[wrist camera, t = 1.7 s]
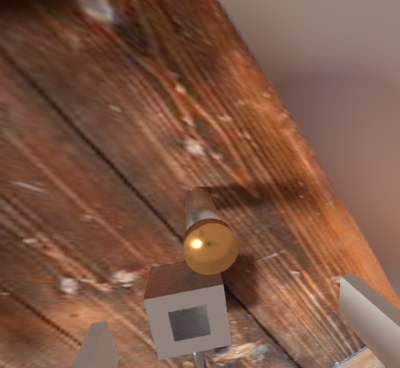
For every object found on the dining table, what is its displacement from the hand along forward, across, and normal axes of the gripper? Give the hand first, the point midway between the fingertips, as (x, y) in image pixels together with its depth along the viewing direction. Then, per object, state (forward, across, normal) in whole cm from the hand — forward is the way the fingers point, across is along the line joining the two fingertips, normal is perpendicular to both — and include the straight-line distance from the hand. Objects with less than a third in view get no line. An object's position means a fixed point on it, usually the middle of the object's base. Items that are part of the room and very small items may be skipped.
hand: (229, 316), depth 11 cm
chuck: (+20, -4, -21) cm, 29 cm away
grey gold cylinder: (+20, 0, 0) cm, 20 cm away
